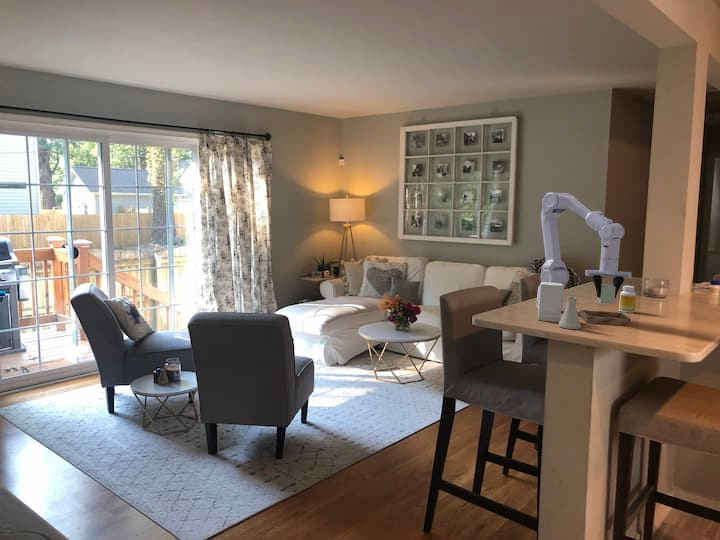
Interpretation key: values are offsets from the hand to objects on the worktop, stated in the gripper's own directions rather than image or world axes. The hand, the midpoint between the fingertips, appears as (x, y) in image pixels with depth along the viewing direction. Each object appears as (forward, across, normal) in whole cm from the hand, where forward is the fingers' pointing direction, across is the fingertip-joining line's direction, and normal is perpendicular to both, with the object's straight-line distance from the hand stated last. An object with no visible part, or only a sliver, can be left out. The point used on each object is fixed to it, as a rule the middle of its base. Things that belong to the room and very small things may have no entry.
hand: (606, 297), depth 196 cm
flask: (+8, -14, -15) cm, 22 cm away
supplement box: (+8, -19, -4) cm, 21 cm away
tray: (+8, 0, 0) cm, 8 cm away
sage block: (+2, 0, 0) cm, 2 cm away
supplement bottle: (+8, +13, +22) cm, 27 cm away
